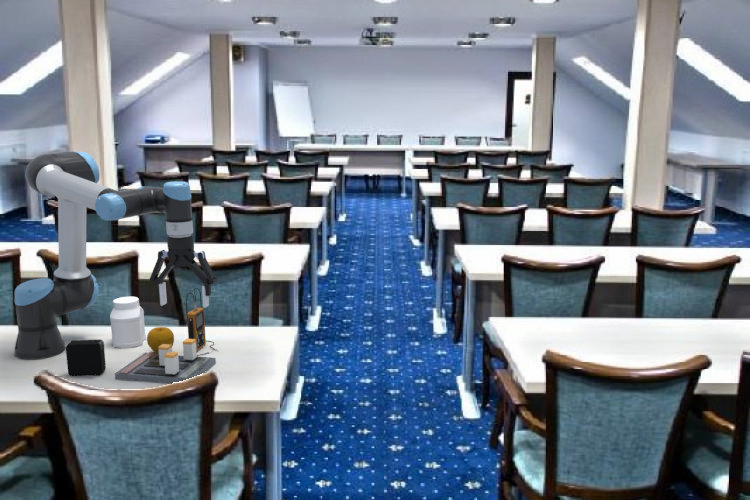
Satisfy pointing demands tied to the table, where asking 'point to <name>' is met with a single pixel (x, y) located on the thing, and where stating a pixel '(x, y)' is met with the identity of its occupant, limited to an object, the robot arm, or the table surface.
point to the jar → (127, 323)
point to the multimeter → (197, 325)
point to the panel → (163, 369)
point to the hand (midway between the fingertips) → (184, 305)
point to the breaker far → (189, 349)
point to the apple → (159, 338)
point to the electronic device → (85, 357)
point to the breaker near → (171, 363)
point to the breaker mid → (164, 352)
